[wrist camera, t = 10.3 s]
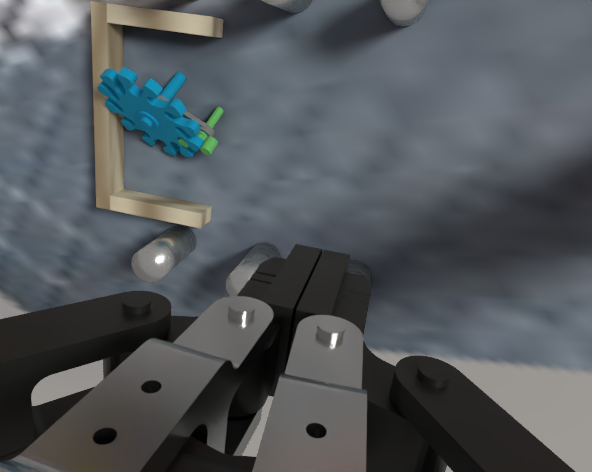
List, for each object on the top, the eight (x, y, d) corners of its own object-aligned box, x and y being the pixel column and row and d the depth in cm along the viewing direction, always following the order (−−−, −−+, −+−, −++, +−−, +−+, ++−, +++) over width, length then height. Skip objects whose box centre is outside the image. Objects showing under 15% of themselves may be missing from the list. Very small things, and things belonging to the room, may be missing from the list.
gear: (97, 119, 46) (86, 57, 36) (132, 75, 48) (131, 6, 38) (199, 182, 47) (214, 137, 38) (229, 136, 49) (250, 84, 40)
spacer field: (430, -16, 37) (434, -33, 31) (367, 294, 47) (360, 330, 41) (175, -44, 41) (131, -64, 34) (166, 251, 51) (131, 278, 44)
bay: (223, 19, 42) (212, 16, 39) (210, 220, 48) (200, 228, 46) (107, 4, 43) (90, 1, 41) (110, 200, 50) (96, 207, 48)
